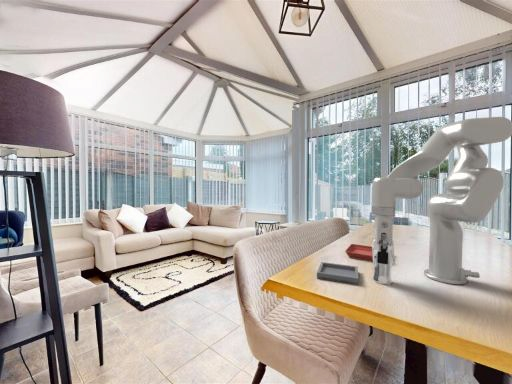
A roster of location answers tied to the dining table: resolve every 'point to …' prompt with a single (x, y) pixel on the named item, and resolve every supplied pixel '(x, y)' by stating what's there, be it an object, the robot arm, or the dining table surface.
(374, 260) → the beer glass
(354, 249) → the plant saucer
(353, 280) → the serving tray
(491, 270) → the dining table surface
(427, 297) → the dining table surface
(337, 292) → the dining table surface
